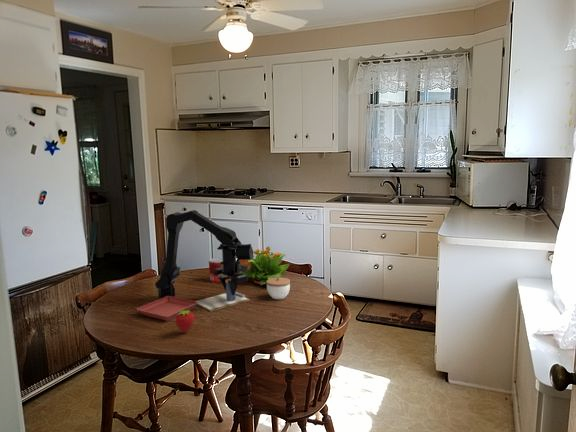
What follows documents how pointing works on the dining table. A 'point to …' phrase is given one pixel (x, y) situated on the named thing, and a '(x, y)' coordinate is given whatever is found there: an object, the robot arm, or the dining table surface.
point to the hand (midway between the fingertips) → (230, 293)
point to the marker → (229, 291)
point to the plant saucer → (166, 307)
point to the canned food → (213, 265)
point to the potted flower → (265, 266)
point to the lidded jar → (278, 287)
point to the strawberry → (185, 320)
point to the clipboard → (220, 301)
